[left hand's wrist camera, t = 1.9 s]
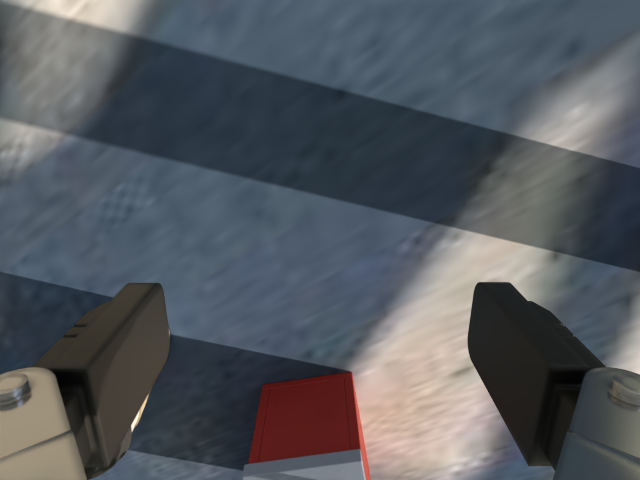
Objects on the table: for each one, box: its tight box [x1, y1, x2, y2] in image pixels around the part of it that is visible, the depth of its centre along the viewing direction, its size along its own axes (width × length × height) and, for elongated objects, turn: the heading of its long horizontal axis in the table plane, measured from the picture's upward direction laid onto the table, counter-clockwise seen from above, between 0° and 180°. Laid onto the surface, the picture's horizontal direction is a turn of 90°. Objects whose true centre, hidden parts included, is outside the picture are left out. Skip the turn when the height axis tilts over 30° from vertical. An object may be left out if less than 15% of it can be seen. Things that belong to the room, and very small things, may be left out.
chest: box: [248, 372, 370, 480], centre depth 43 cm, size 14×10×11 cm
